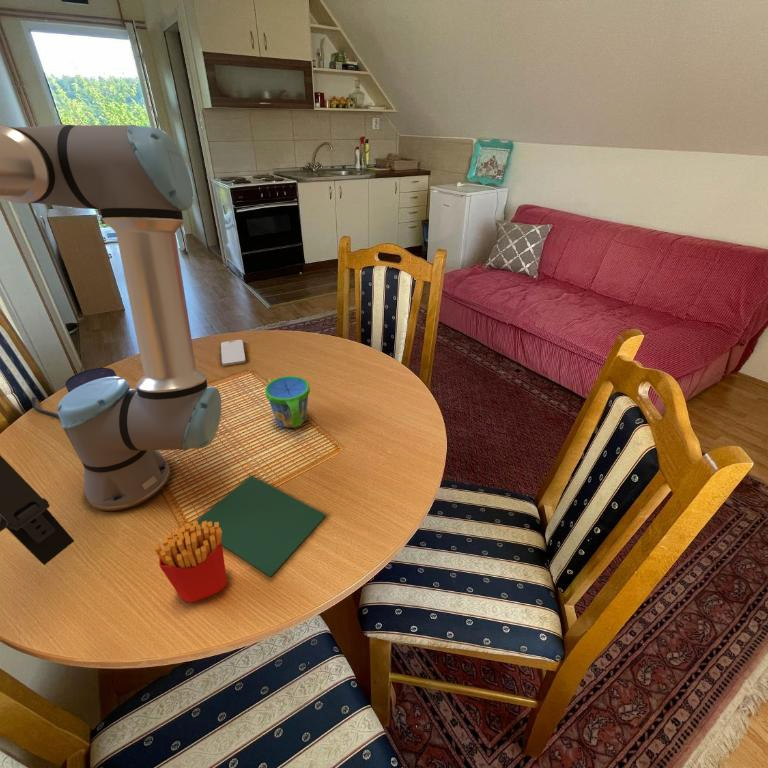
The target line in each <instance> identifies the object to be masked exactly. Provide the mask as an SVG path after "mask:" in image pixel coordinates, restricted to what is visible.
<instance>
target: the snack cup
mask: <svg viewBox="0 0 768 768" xmlns="http://www.w3.org/2000/svg"><path fill="white" fill-rule="evenodd" d="M310 393H311V388H310V383H309V381H307V380H306V379H305V378H303V377H301V376H297V375H286V376H279V377H277V378H275V379H272V380H271V381H270V382H268V383H267V385H266V386H265V388H264V394H265V397H266V398H267V400H268V402H269V405H270V408H271V410H272V414H273V416H274V419H275V422H276V424H278V425H279V426H280V427H281V428H286V429H291V428H292V429H295V428H297V427H300V426H301V425H302V424H304V423H305V422H306V420H307V415H308V403H309V395H310Z"/></svg>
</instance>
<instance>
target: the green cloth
mask: <svg viewBox="0 0 768 768" xmlns="http://www.w3.org/2000/svg"><path fill="white" fill-rule="evenodd" d="M326 517H327V515H326V514H325V513H324V512H321V511H320V510H318V509H316V508H314V507H312V506H309V505H308V504H306V503H304V502H302V501H300V500H298V499H296V498H295V497H292V496H291V495H289V494H287V493H285V492H283V491H281V490H279V489H277V488H275V486H272V485H270V484H268V483H267V482H264V481H262V480H260V479H259V478H256V477H255V476H253V475H250V476H249V477H248V478H247V479H245V480H244V481H243V482H241V484H239V485H238V486H237V487H236V488H235V489H233V490H232V491H231V492H230V493H228V494H227V495H226V496H225V497H223V498H222V499H221V500H220V501H218V502H217V503H216V504H215V505H214V506H212V507H211V508H210V509H209V510H208V511H207V512H205V513H204V514H203V515H202V516H200V517H199V518H198V519H197V520H196V521H198V525H200V527H201V532H202V534H203V531H202V524H201V523H202V522H203V521H207V522H210V521H212V526H213V527H214V522H219V528H221V530H222V536H221V542H222V548H224V549H226V550H228V551H229V552H231V553H233V554H234V555H236V556H237V557H238V558H240V559H241V560H243V561H245V562H246V563H248V564H249V565H251V566H252V567H254V568H255V569H257V570H258V571H260V572H262V573H263V574H264V575H266V576H267V577H269V578H272V577H273V576H274V575H275V573H277V572H278V570H279V569H280V568H281V567H282V566H283V565H284V564H285V563H286V561H287V560H288V559H289V558H290V557H291V556H292V555H293V554H294V552H296V550H297V549H298V548H299V547H300V546H301V545H302V544H303V542H304V541H305V540H306V539H307V538H308V537H309V536H310V535H311V534H312V533H313V531H314V530H315V529H316V528H317V527H318V526H319V524H320V523H322V522H323V520H324V519H325V518H326ZM192 525H193V523H192V524H191V526H192ZM207 526H208V525H207Z"/></svg>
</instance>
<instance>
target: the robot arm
mask: <svg viewBox="0 0 768 768" xmlns="http://www.w3.org/2000/svg"><path fill="white" fill-rule="evenodd" d="M193 197H194V190H193V184H192V179H191V175H190V172H189V169H188V165H187V164H186V161H185V159H184V156H183V154H182V153H181V150H180V149H179V147H178V145H177V144H176V142H175V141H174V139H173V138H172V137H171V136H170V135H169V134H168V133H167V132H165V131H164V130H162V129H161V128H157V127H153V126H142V125H136V124H131V123H130V124H128V125H127V124H117V125H116V124H115V125H114V124H110V125H109V124H108V125H107V124H104V125H103V124H102V125H101V124H99V125H98V124H97V125H95V124H94V125H93V124H91V125H90V124H82V125H81V124H78V125H77V124H51V125H49V124H48V125H36V126H7V125H2V124H0V198H1V199H3V200H5V201H8V202H11V203H16V204H41V205H49V206H57V207H65V208H74V209H84V210H86V209H87V210H99V211H100V215H101V216H100V217H101V220H102V222H103V223H104V224H106V225H107V226H108V227H109V228H110V229H112V230H113V231H114V232H115V235H116V240H117V245H118V250H119V255H120V259H121V265H122V269H123V276H124V280H125V286H126V291H127V296H128V301H129V306H130V311H131V316H132V321H133V326H134V327H133V328H134V331H135V336H136V341H137V346H138V352H139V357H140V363H141V367H142V372H143V375H142V377H141V378H140V379H138V381H137V382H136V384H135V387H136V388H131V386H130V383H129V382H127V380H126V379H125V378H123V377H120V376H117V377H106V378H101V379H97V380H94V381H91V382H88V383H85V384H83V385H81V386H79V387H77V388H75V389H74V390H72V391H70V392H67V393H66V394H65V395H64V396H63V397H62V398H61V399H60V400H59V402H58V403H57V407H56V412H52V411H49V410H45V409H42V408H40V407H38V406H37V402H36V401H37V398H38V397H37V396H36V395H32V396H31V405H32V407H33V409H34V410H35V411H37V412H38V413H42V414H45V415H49V416H52V417H55V418H58V419H59V421H60V423H61V428H62V429H63V431H64V432H65V434H66V436H67V438H68V439H69V442H70V444H71V446H72V447H73V449H74V451H75V453H76V455H77V457H78V458H79V461H80V462H81V464H82V466H83V480H84V481H83V483H84V484H83V489H84V495H85V497H86V499H87V501H88V503H89V505H90V506H91V507H92V508H94V509H96V510H99V511H103V512H119V511H124V510H127V509H128V510H129V509H132V508H134V507H136V506H140V505H142V504H143V503H146V502H147V501H149V500H151V499H152V498H154V497H155V496H156V495H158V494H159V493H160V492H161V491H162V490H163V489H164V488H165V486H166V485H167V483H168V482H169V479H170V476H171V467H170V465H169V463H168V461H167V459H166V458H165V456H164V455H163V454H162V453H161V452H160V451H173V450H174V451H175V450H176V451H177V450H183V451H188V450H191V449H193V450H194V449H203V448H207V447H208V446H209V445H210V444H212V442H213V441H214V439H215V437H216V435H217V433H218V431H219V427H220V426H219V425H220V422H221V418H222V417H221V416H222V395H221V393H220V390H219V388H217V387H214V386H212V385H211V386H208V380H207V375H206V374H205V373H204V372H202V371H200V370H199V369H198V368H197V366H196V358H195V353H194V346H193V339H192V333H191V327H190V321H189V314H188V313H189V312H188V308H187V301H186V293H185V288H184V281H183V273H182V268H181V267H182V266H181V262H180V261H181V260H180V255H179V248H178V241H177V235H176V233H177V232H178V229H180V228H181V226H182V225H183V224H184V215H183V211H188V210H190V208H192V206H193V203H194V198H193ZM49 508H50V504H49V501H48V500H47V499H46V498H45V497H41V495H40V494H39V493H38V492H37V491H36V490H35V489H34V488H33V487H32V486H31V485H30V484H29V483H28V482H27V481H26V479H24V478H23V477H22V476H21V475H20V474H19V473H18V472H17V470H15V469H14V468H13V467H12V465H11V464H9V462H8V461H7V460H6V459H5V458H4V457H3V456H1V454H0V533H1V532H2V531H4V530H6V529H7V530H8V531H9V532H10V534H12V536H13V537H14V538H15V539H17V540H18V541H19V543H21V545H22V546H24V548H26V549H27V550H28V551H29V552H30V553H31V555H33V556H34V558H36V559H37V560H38V562H40V563H41V564H42V565H43V566H45V565H47V564H48V563H49V562H50V561H52V560H53V559H54V558H56V556H58V555H59V554H60V553H62V552H63V551H64V550H65V549H67V548H68V547H69V546H70V545H72V544H73V543H74V542H75V540H74V539H73V538H72V537H71V535H70V534H69V533H68V532H67V530H66V529H65V528H64V526H62V524H60V522H59V521H58V520H57V519H56V517H55V516H54V515H53V514H52V513H51V511H49Z"/></svg>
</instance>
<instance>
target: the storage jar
mask: <svg viewBox="0 0 768 768" xmlns="http://www.w3.org/2000/svg"><path fill="white" fill-rule="evenodd" d="M106 377H118V376H117V373H116V370H114V369H112V368H109V367H95V368H90V369H85V370H83V371H80V372H77V373H75V374H73V375H71V376H70V377H69V378H68V379H67V380H66V381H65V383H64V386H65V388H66V390H67V393H69V392H70V391H72V390H74V389H75V388H77V387H79V386H81V385H83V384H85V383H88V382H91V381H94V380H97V379H101V378H106Z"/></svg>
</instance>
